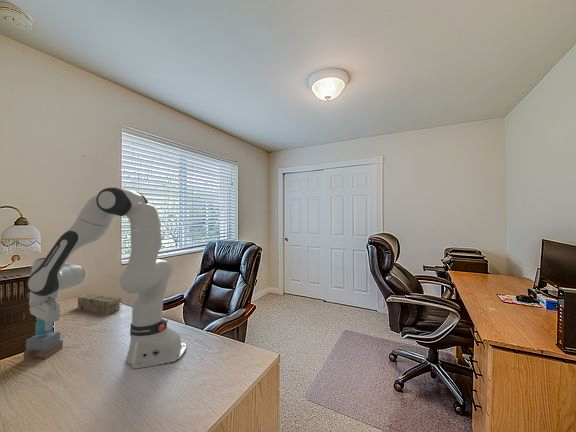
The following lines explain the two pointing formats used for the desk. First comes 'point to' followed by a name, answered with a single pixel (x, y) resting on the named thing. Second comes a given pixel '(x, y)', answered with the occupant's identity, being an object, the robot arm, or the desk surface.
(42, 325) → the teal cylinder
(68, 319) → the desk surface
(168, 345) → the robot arm
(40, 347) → the slate-grey upper block
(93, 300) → the block tower
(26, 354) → the walnut base block
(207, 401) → the desk surface
